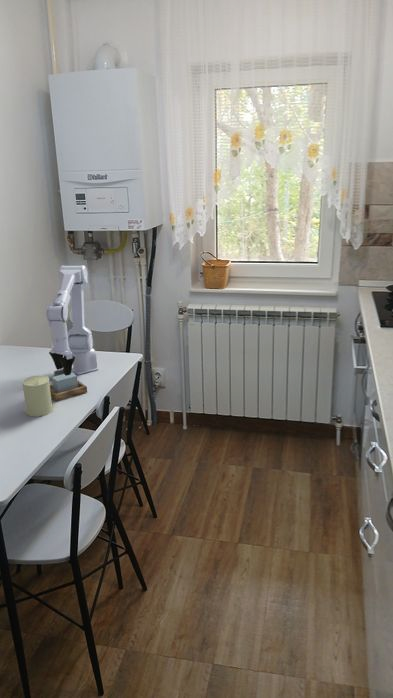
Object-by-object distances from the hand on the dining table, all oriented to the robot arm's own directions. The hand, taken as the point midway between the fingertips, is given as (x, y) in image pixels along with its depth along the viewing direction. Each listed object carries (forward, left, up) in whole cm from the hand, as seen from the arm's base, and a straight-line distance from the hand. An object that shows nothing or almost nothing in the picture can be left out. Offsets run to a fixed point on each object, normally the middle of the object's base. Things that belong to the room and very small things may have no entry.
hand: (63, 371), depth 204 cm
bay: (-5, -11, -8) cm, 15 cm away
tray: (0, 0, -8) cm, 8 cm away
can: (+14, +9, -9) cm, 19 cm away
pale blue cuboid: (0, 0, -8) cm, 8 cm away
